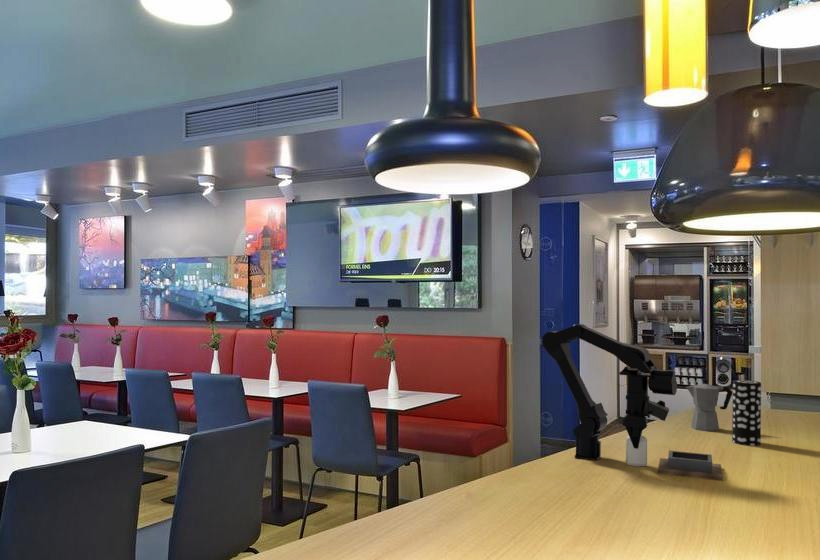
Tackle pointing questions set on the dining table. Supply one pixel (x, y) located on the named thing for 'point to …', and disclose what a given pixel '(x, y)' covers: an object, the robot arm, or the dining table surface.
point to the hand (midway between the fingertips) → (636, 446)
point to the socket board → (714, 475)
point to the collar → (690, 461)
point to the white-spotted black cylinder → (746, 412)
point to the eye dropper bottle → (636, 452)
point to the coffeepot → (707, 405)
